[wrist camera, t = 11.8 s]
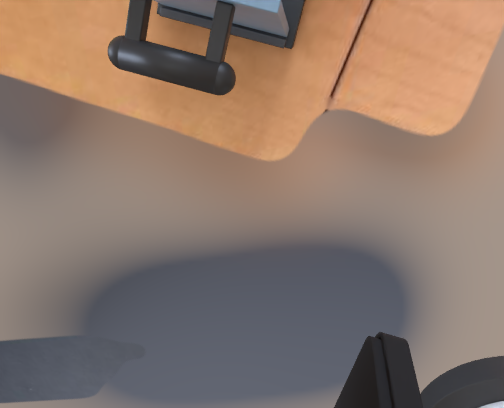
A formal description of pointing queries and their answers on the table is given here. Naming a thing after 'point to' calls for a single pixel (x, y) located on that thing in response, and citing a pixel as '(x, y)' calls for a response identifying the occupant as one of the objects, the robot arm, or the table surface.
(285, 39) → the dark rectangular box base
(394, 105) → the table surface
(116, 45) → the handled blue panel
